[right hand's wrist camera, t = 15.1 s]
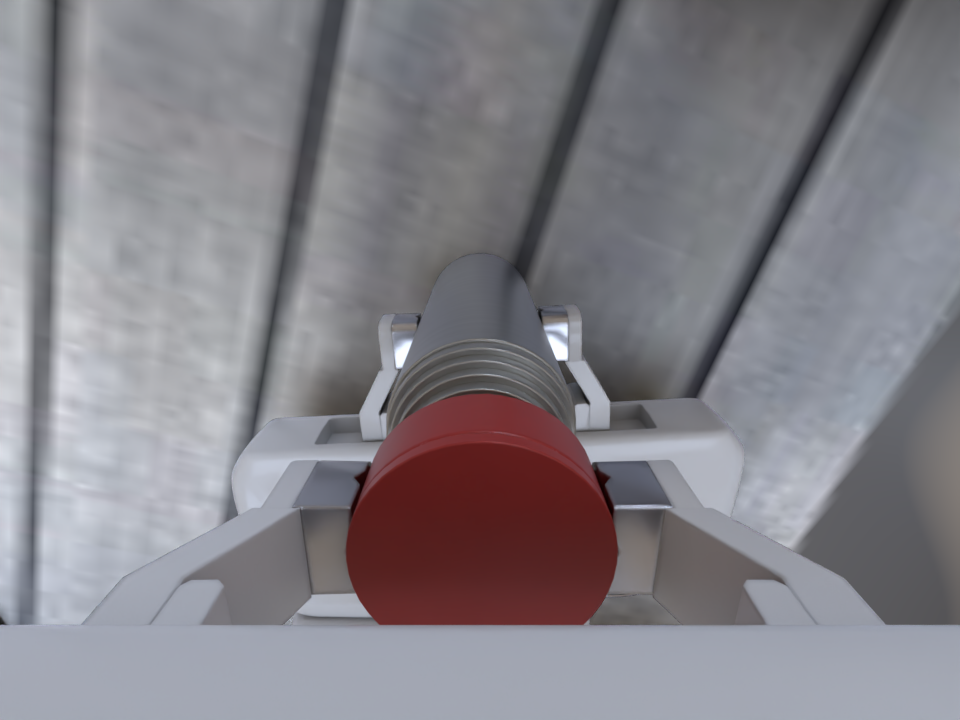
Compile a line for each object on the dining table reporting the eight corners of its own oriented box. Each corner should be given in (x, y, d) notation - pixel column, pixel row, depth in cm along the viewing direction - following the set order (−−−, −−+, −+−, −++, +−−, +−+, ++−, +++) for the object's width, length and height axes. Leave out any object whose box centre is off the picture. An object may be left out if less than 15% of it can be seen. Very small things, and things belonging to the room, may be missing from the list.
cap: (438, 348, 9) (429, 390, 7) (641, 462, 10) (674, 523, 8) (329, 528, 10) (299, 598, 9) (515, 615, 11) (522, 696, 9)
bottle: (463, 234, 24) (429, 369, 8) (547, 286, 25) (677, 506, 9) (414, 318, 25) (297, 582, 9) (496, 365, 26) (523, 683, 10)
